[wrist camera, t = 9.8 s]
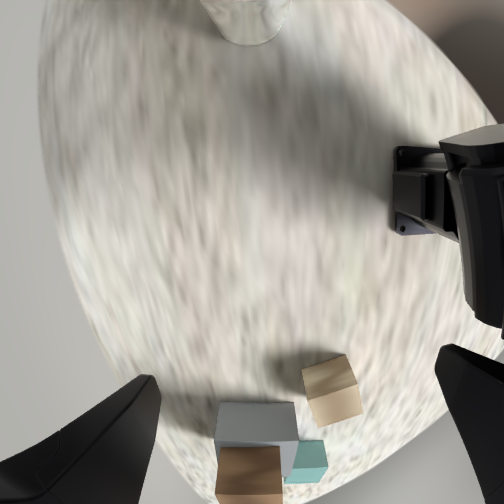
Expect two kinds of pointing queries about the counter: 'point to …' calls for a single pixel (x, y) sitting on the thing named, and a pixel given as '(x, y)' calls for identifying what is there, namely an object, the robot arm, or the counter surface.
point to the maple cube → (332, 391)
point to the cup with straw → (247, 19)
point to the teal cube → (308, 463)
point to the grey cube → (258, 429)
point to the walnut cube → (249, 475)
